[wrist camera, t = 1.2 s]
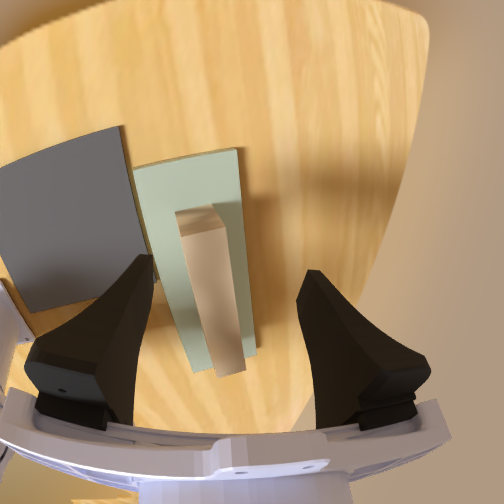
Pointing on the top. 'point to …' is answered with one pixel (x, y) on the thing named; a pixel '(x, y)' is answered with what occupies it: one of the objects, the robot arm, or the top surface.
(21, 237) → the rubber mat
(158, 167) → the sage board
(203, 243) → the beige long block
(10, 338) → the robot arm
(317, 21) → the top surface
